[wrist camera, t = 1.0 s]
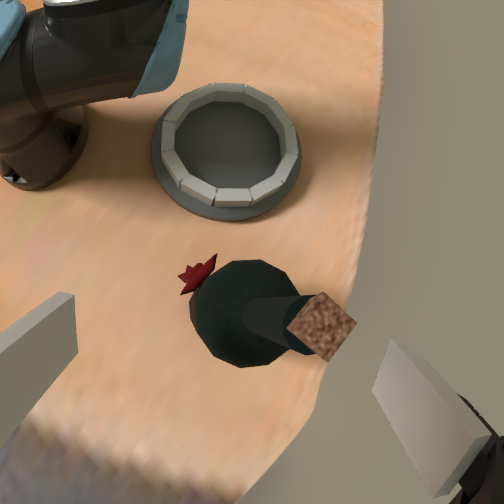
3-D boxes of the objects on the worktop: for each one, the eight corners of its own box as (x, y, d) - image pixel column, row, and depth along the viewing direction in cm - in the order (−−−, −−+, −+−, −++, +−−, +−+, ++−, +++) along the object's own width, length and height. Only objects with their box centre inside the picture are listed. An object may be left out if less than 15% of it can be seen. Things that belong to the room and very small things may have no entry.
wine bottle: (204, 249, 40) (259, 118, 11) (265, 304, 40) (446, 306, 11) (160, 297, 38) (90, 289, 9) (224, 353, 38) (329, 474, 9)
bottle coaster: (127, 127, 40) (123, 112, 36) (248, 74, 45) (253, 58, 41) (201, 251, 40) (203, 245, 36) (324, 178, 45) (336, 167, 41)
